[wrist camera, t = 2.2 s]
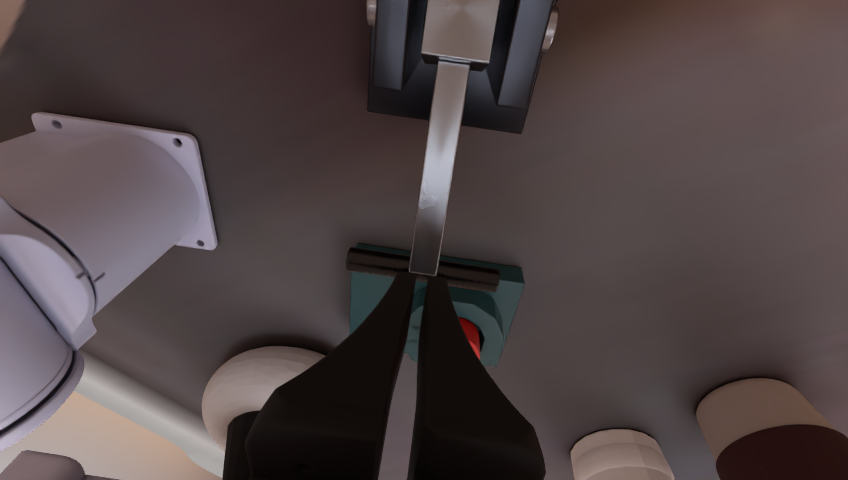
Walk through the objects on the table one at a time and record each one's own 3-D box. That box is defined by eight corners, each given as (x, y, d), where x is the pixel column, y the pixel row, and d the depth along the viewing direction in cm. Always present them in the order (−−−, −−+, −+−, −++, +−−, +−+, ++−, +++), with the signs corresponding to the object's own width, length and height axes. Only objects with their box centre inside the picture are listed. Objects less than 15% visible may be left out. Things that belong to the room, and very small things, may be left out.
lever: (491, 279, 17) (499, 305, 15) (354, 259, 17) (339, 281, 15) (552, -7, 14) (574, -32, 11) (380, -32, 14) (367, -62, 11)
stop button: (420, 350, 26) (418, 371, 25) (427, 311, 24) (425, 331, 23) (473, 357, 26) (473, 379, 25) (484, 319, 24) (485, 340, 23)
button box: (354, 328, 30) (342, 364, 27) (357, 243, 26) (343, 275, 23) (495, 349, 30) (498, 388, 27) (521, 267, 26) (529, 302, 23)
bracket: (519, 127, 21) (547, 195, 14) (371, 106, 21) (326, 163, 14) (582, -121, 16) (680, -212, 9) (383, -150, 16) (320, -263, 9)
